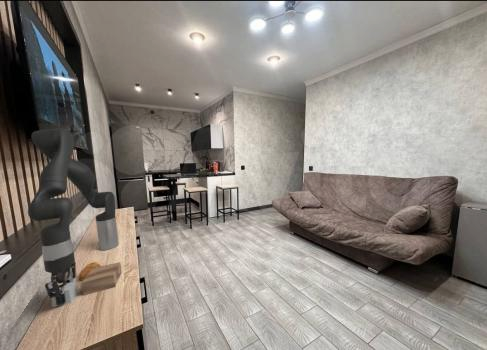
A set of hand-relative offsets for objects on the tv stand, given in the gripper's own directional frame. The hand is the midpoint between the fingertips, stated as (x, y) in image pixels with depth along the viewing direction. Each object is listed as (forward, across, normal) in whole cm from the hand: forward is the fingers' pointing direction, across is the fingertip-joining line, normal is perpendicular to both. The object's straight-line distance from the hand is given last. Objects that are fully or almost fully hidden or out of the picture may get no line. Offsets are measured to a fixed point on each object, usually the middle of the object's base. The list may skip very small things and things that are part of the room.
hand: (65, 298), depth 65 cm
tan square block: (+1, -5, +10) cm, 11 cm away
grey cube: (+1, 0, 0) cm, 1 cm away
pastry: (+1, -16, +2) cm, 16 cm away
